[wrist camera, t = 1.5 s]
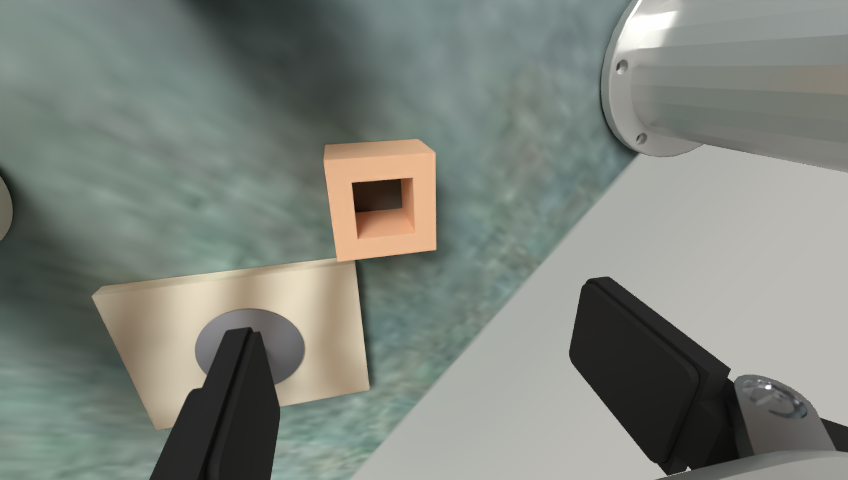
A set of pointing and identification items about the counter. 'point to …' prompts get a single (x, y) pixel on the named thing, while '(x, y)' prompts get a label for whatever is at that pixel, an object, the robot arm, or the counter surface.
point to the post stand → (238, 308)
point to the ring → (382, 227)
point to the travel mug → (5, 209)
